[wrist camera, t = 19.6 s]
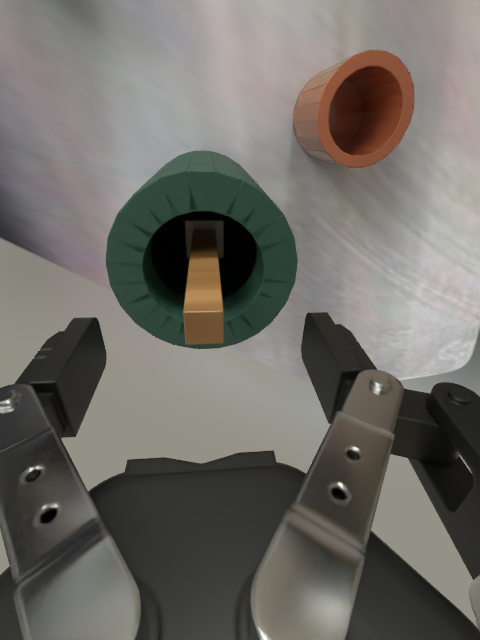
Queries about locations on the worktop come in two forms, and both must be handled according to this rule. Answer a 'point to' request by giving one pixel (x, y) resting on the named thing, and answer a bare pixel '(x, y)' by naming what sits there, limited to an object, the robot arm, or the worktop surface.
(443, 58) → the worktop surface
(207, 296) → the brush
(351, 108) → the cup
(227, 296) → the green tube sleeve
